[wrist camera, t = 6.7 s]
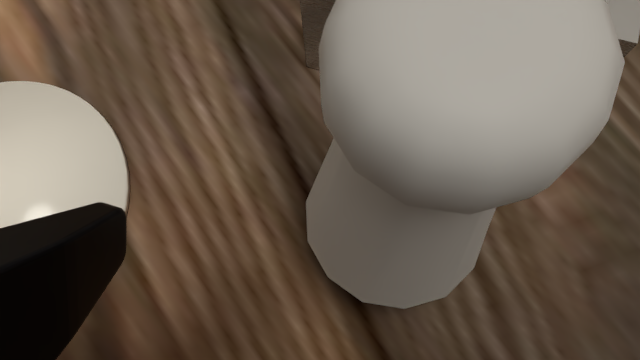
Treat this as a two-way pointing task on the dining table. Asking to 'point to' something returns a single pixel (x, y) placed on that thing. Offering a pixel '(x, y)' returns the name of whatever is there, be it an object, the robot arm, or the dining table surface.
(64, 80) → the dining table surface
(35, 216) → the coaster
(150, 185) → the dining table surface
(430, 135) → the salt shaker
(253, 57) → the dining table surface
